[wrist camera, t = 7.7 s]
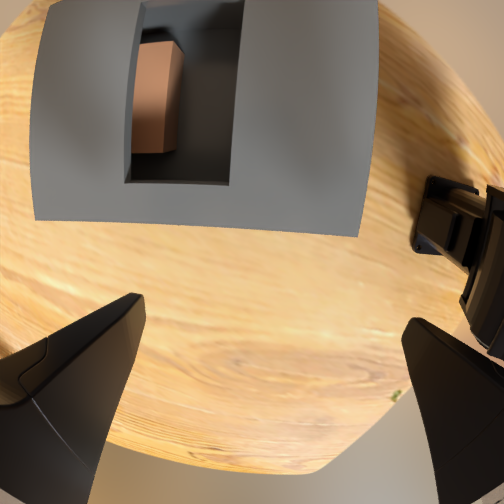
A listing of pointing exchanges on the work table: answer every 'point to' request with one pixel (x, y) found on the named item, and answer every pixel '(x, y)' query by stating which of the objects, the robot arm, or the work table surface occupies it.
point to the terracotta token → (156, 97)
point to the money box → (209, 114)
